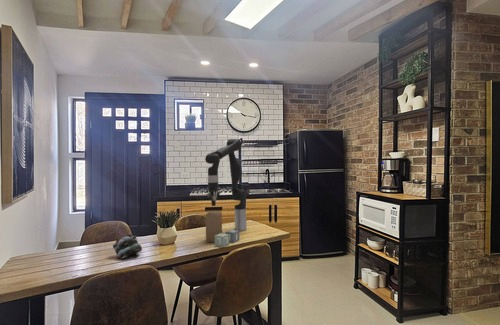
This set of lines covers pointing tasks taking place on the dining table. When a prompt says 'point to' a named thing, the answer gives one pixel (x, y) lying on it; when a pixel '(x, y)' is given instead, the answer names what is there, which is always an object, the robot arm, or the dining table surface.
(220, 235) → the sage numbered cube
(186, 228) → the dining table surface
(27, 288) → the dining table surface
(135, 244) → the dark green lumpy piece
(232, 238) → the slate numbered cube
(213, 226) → the wooden block
